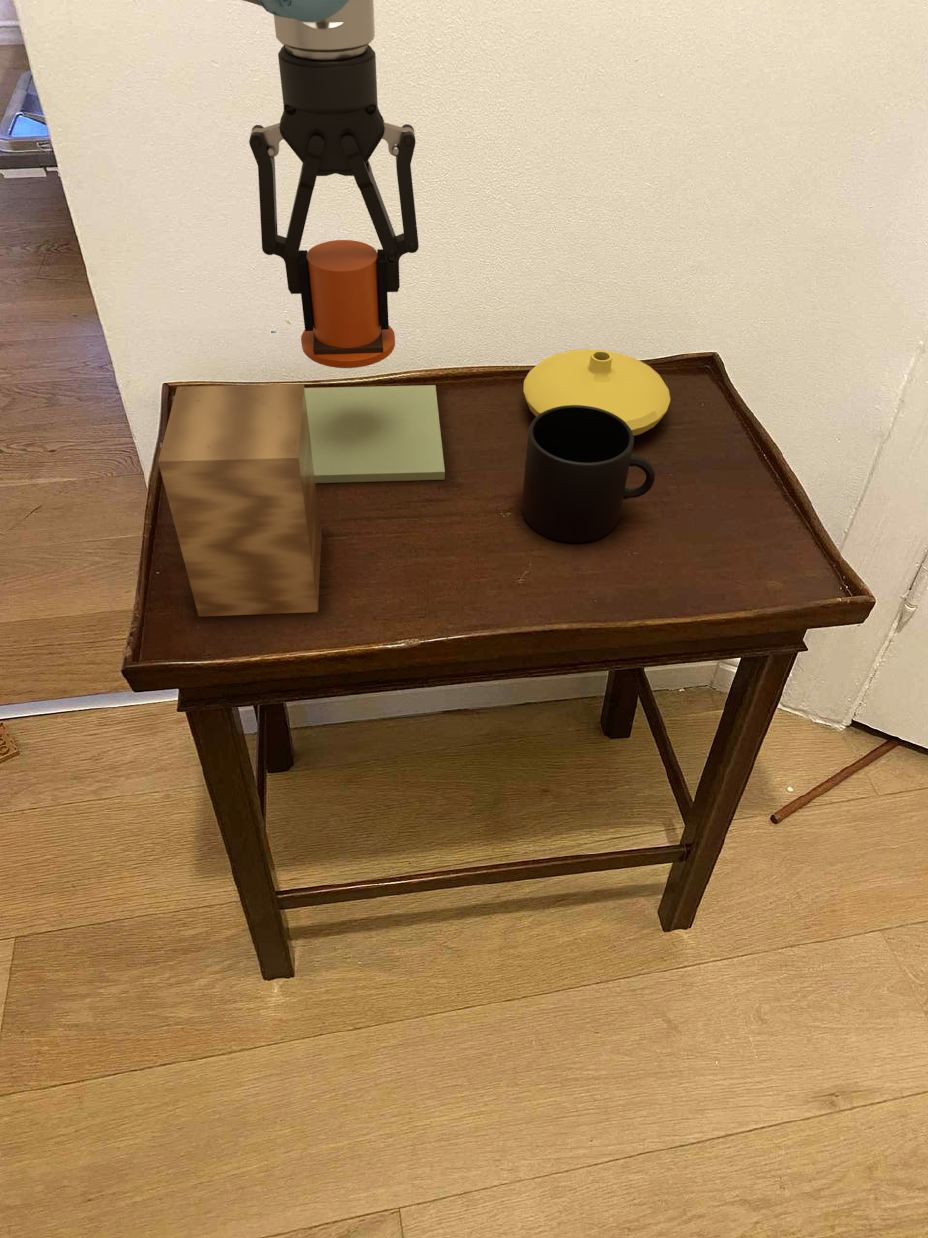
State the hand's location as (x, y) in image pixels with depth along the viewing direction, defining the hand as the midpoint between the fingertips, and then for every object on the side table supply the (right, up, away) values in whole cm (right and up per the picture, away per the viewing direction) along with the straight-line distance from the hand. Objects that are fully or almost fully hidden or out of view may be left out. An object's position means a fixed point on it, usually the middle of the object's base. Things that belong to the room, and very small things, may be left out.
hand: (347, 322), depth 87 cm
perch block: (-7, -24, -6) cm, 26 cm away
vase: (+25, -6, +13) cm, 29 cm away
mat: (0, -9, +9) cm, 13 cm away
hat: (0, -2, +2) cm, 2 cm away
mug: (+23, -18, +1) cm, 29 cm away
